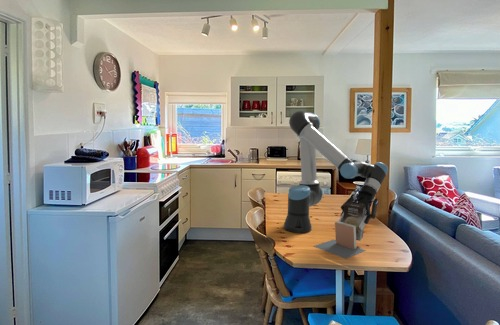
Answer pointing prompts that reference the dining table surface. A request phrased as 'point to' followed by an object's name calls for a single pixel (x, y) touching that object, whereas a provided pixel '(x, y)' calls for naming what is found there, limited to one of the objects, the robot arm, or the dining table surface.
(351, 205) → the coffee box
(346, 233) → the tile
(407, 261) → the dining table surface
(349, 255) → the mat
